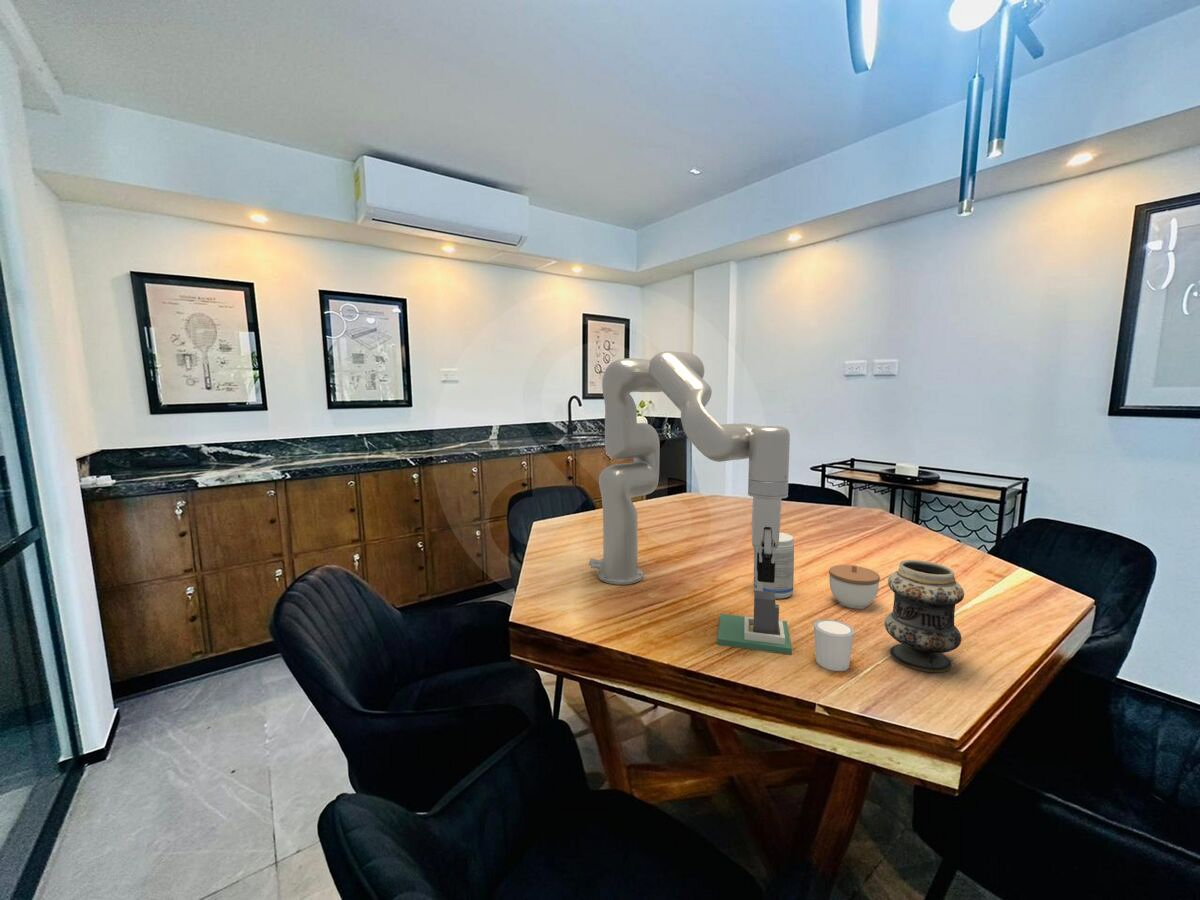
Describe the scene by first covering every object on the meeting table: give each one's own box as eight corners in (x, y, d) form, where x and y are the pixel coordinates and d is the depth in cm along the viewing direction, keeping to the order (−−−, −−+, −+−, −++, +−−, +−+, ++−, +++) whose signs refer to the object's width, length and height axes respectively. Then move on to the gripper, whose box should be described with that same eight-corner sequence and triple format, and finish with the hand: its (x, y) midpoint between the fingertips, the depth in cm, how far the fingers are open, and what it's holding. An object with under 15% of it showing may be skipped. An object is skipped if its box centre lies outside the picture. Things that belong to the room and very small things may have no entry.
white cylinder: (805, 654, 94) (806, 619, 93) (839, 652, 94) (840, 617, 94) (824, 674, 87) (826, 636, 86) (861, 672, 88) (863, 634, 87)
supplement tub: (801, 594, 122) (803, 537, 121) (777, 603, 117) (778, 543, 116) (768, 582, 130) (770, 528, 129) (745, 590, 125) (746, 534, 124)
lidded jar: (837, 591, 124) (839, 555, 123) (884, 603, 117) (886, 565, 116) (820, 603, 117) (822, 565, 116) (869, 617, 109) (871, 577, 108)
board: (717, 644, 98) (717, 632, 98) (720, 618, 109) (720, 607, 109) (791, 654, 94) (792, 641, 93) (786, 626, 105) (787, 615, 105)
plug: (753, 635, 99) (754, 597, 98) (753, 627, 102) (754, 590, 101) (778, 639, 97) (779, 600, 96) (777, 630, 101) (778, 593, 100)
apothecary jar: (969, 662, 90) (977, 568, 89) (943, 684, 84) (950, 583, 82) (899, 637, 100) (904, 552, 98) (870, 655, 93) (875, 564, 91)
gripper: (748, 480, 106) (746, 561, 108) (748, 495, 90) (745, 590, 92) (784, 482, 104) (782, 564, 106) (791, 497, 87) (788, 595, 89)
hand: (765, 575), depth 99 cm, fingers open, 4 cm apart
